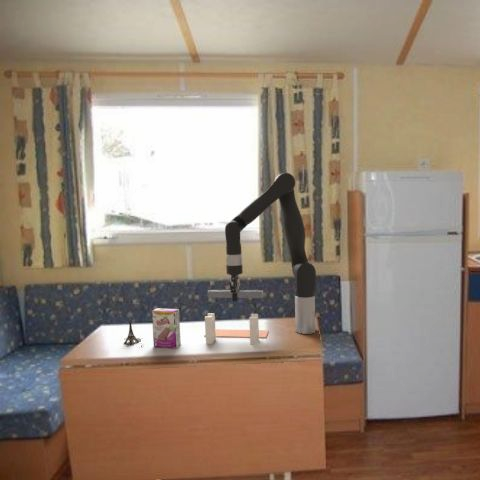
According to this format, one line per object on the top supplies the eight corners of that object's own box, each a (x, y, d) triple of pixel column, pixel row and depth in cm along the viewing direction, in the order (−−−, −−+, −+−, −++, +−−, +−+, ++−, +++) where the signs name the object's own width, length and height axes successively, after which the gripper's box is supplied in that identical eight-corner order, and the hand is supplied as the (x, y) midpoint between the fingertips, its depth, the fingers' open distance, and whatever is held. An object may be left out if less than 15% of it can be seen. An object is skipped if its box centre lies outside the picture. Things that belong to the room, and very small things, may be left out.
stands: (259, 339, 184) (258, 313, 183) (257, 344, 178) (256, 317, 177) (209, 338, 188) (208, 313, 187) (205, 343, 182) (204, 317, 181)
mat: (268, 331, 195) (268, 330, 195) (266, 338, 186) (266, 337, 186) (209, 330, 201) (209, 329, 201) (204, 336, 191) (204, 335, 191)
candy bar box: (153, 347, 180) (151, 310, 178) (158, 343, 184) (156, 307, 183) (176, 348, 176) (174, 311, 175) (181, 344, 181) (179, 308, 180)
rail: (263, 296, 191) (263, 290, 190) (262, 298, 188) (262, 291, 187) (209, 296, 195) (209, 290, 195) (207, 297, 192) (207, 291, 192)
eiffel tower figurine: (143, 348, 180) (141, 319, 178) (119, 351, 178) (117, 321, 177) (144, 338, 194) (143, 310, 193) (122, 340, 192) (121, 312, 191)
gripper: (239, 266, 182) (240, 304, 184) (244, 261, 196) (245, 296, 198) (223, 266, 184) (224, 303, 185) (229, 261, 198) (230, 296, 199)
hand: (235, 299), depth 192 cm, fingers closed on rail, 3 cm apart
